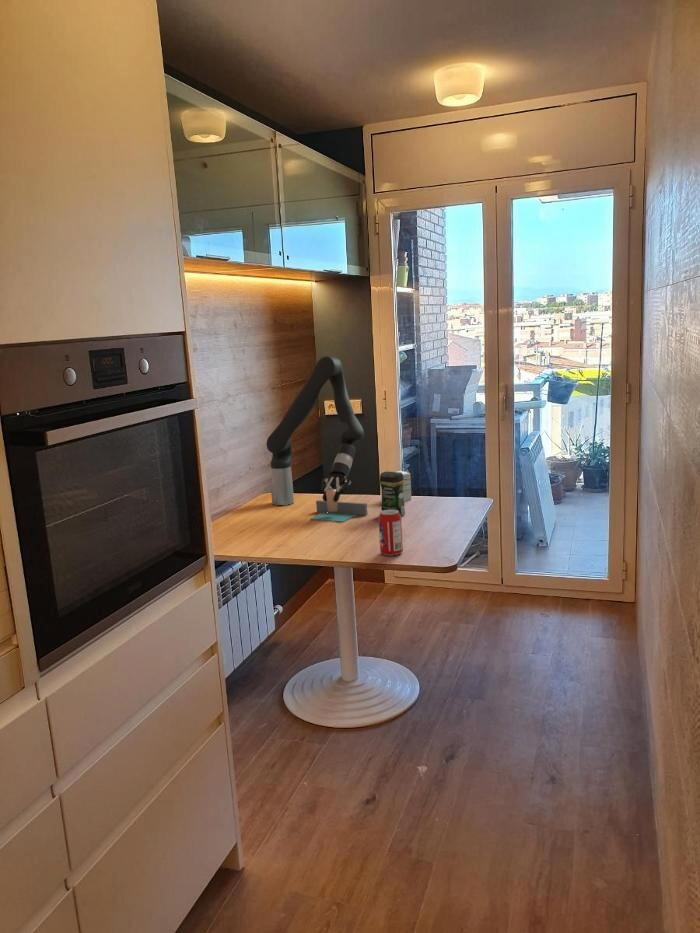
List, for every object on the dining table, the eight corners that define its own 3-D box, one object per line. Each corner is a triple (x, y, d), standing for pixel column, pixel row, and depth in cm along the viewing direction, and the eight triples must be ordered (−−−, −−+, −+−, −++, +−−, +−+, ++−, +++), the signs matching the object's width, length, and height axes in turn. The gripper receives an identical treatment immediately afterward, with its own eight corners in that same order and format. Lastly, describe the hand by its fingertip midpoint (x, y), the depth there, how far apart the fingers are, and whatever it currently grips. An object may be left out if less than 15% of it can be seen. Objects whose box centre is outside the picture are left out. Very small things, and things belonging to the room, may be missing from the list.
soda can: (399, 557, 248) (396, 514, 246) (377, 556, 251) (374, 514, 249) (405, 550, 256) (403, 509, 253) (384, 549, 258) (382, 508, 256)
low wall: (316, 512, 318) (316, 501, 317) (318, 511, 320) (317, 500, 319) (365, 515, 307) (365, 504, 306) (367, 514, 308) (366, 503, 307)
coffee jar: (378, 516, 304) (375, 473, 300) (388, 512, 310) (386, 469, 307) (398, 519, 298) (396, 474, 295) (408, 514, 304) (406, 470, 301)
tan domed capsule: (325, 511, 305) (324, 490, 303) (329, 508, 309) (327, 488, 307) (336, 511, 303) (334, 490, 302) (339, 508, 307) (338, 488, 306)
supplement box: (389, 500, 332) (387, 472, 330) (403, 497, 335) (401, 470, 333) (398, 503, 326) (396, 475, 323) (412, 500, 329) (410, 472, 327)
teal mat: (309, 520, 306) (309, 518, 306) (323, 513, 315) (323, 512, 315) (343, 522, 298) (343, 521, 298) (356, 515, 308) (356, 514, 307)
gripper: (323, 461, 312) (311, 495, 304) (353, 461, 305) (341, 496, 297) (330, 470, 318) (318, 504, 310) (359, 471, 311) (348, 506, 303)
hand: (329, 500), depth 304 cm, fingers closed on tan domed capsule, 4 cm apart
